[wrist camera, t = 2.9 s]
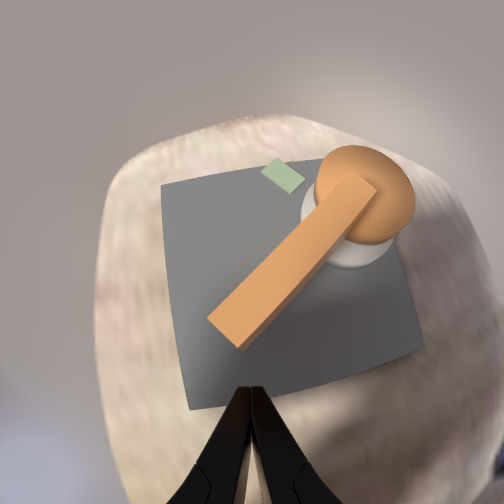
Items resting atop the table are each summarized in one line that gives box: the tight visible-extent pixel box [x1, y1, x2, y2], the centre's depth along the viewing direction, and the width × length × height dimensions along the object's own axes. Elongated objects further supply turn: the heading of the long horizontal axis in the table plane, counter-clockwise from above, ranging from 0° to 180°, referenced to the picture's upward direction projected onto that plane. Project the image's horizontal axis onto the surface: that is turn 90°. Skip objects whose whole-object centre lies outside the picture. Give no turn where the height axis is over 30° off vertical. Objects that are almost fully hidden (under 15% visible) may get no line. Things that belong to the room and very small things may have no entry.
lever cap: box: [207, 145, 415, 351], centre depth 12 cm, size 12×5×5 cm, turn 137°
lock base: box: [161, 158, 424, 410], centre depth 15 cm, size 14×14×4 cm
